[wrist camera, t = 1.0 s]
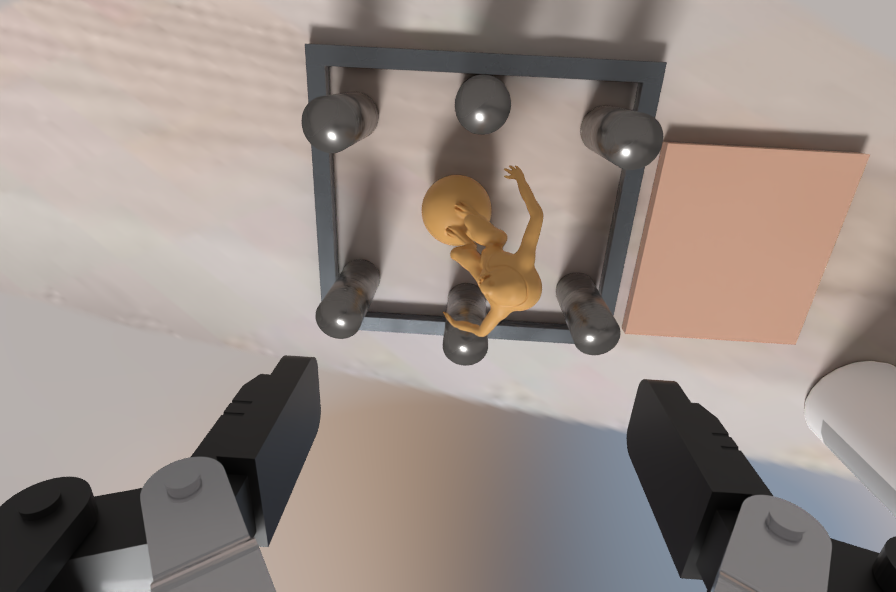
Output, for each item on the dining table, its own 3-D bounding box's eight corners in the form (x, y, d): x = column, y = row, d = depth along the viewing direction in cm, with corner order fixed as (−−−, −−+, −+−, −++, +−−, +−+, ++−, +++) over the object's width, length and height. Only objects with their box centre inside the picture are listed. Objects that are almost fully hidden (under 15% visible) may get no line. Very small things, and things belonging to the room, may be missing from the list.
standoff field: (661, 62, 26) (711, 59, 21) (604, 340, 33) (630, 392, 28) (309, 44, 26) (266, 36, 21) (326, 322, 33) (298, 370, 28)
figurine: (451, 122, 28) (438, 152, 17) (547, 162, 28) (594, 215, 18) (404, 250, 31) (368, 345, 20) (491, 283, 32) (501, 392, 21)
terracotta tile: (859, 152, 27) (870, 154, 27) (788, 338, 32) (795, 344, 32) (662, 141, 28) (668, 143, 27) (621, 328, 33) (625, 333, 32)
